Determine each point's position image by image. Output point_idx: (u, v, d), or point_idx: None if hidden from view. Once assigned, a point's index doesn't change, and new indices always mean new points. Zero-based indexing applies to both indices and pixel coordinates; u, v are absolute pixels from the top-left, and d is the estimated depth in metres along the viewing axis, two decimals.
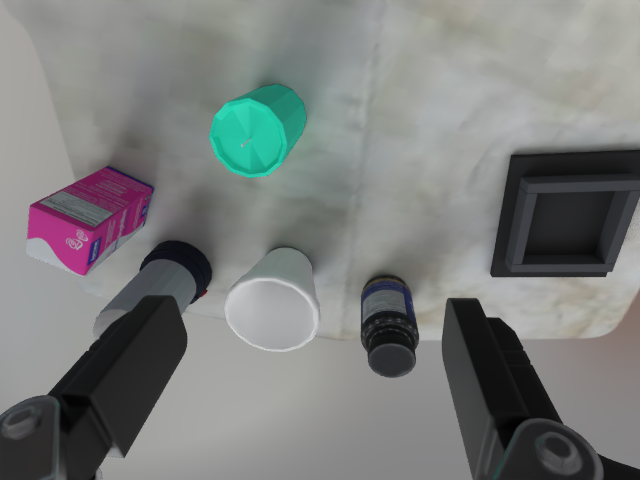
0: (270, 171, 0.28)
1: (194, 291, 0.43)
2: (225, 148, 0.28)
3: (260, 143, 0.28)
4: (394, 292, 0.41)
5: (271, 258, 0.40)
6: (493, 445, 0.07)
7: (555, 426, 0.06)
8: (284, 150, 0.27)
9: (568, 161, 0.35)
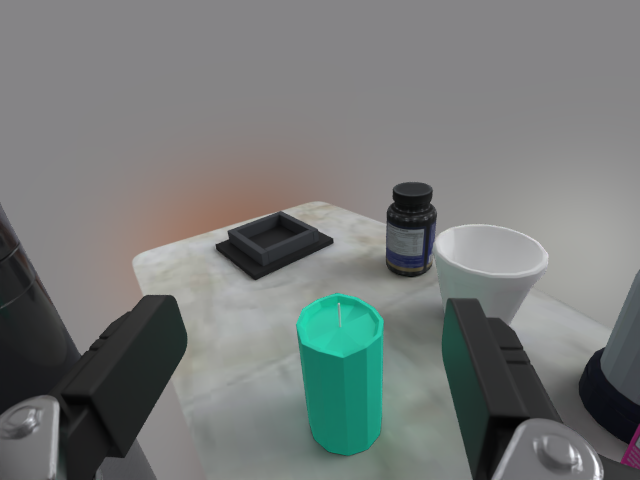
0: (351, 297, 0.27)
1: None
2: (367, 337, 0.24)
3: (336, 318, 0.26)
4: (390, 247, 0.46)
5: None
6: (493, 445, 0.07)
7: (555, 426, 0.06)
8: (323, 298, 0.27)
9: (240, 259, 0.52)
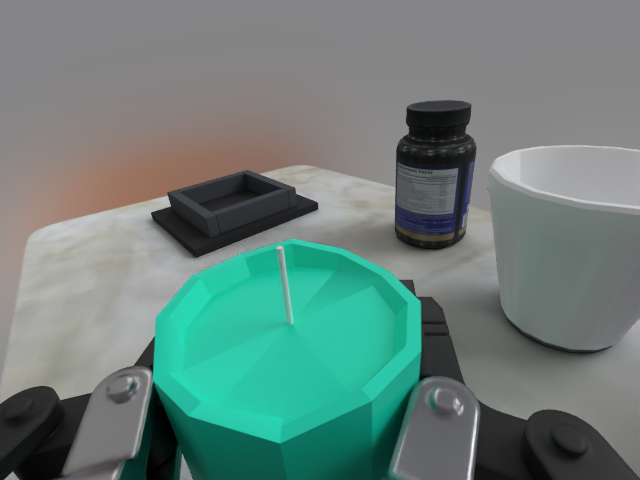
0: (328, 247, 0.10)
1: None
2: (373, 357, 0.07)
3: (283, 300, 0.09)
4: (402, 203, 0.30)
5: (561, 301, 0.18)
6: None
7: (450, 382, 0.07)
8: (257, 251, 0.10)
9: (179, 229, 0.35)
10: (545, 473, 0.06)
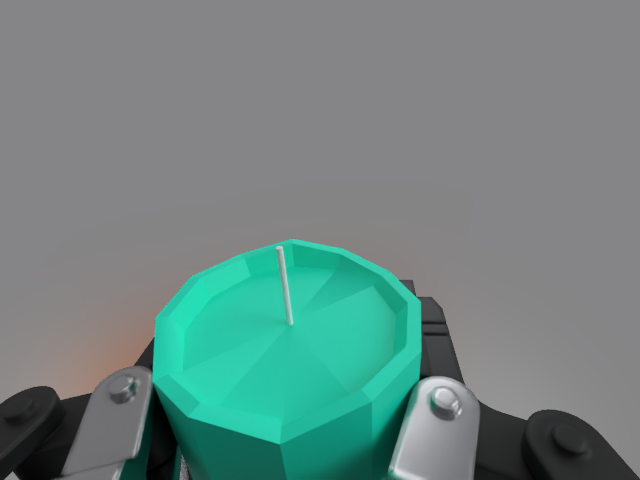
0: (328, 247, 0.10)
1: None
2: (373, 358, 0.07)
3: (283, 300, 0.09)
4: None
5: None
6: None
7: (450, 382, 0.07)
8: (257, 251, 0.10)
9: None
10: (545, 473, 0.06)
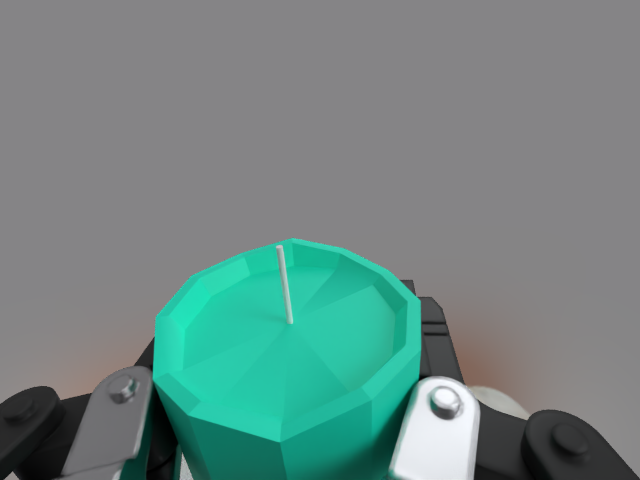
0: (328, 247, 0.10)
1: None
2: (373, 356, 0.07)
3: (283, 300, 0.09)
4: None
5: None
6: None
7: (450, 382, 0.07)
8: (257, 250, 0.10)
9: None
10: (545, 473, 0.06)
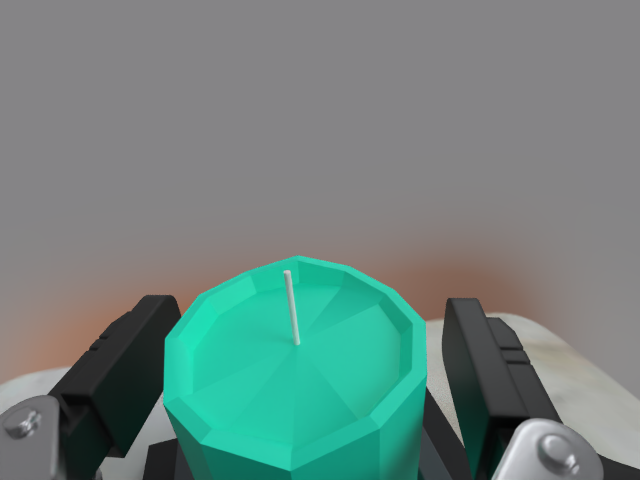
0: (333, 264, 0.11)
1: None
2: (379, 380, 0.07)
3: (289, 319, 0.09)
4: None
5: None
6: (493, 445, 0.07)
7: (555, 426, 0.06)
8: (263, 268, 0.11)
9: None
10: None
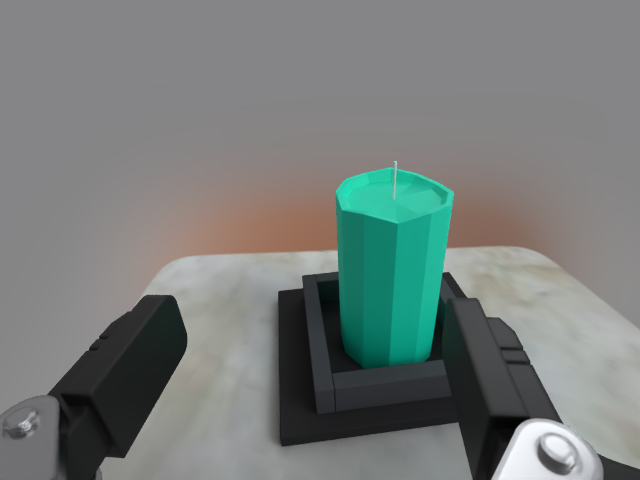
0: (409, 172, 0.21)
1: None
2: (431, 209, 0.18)
3: (388, 192, 0.20)
4: None
5: None
6: (493, 445, 0.07)
7: (555, 426, 0.06)
8: (373, 172, 0.21)
9: (289, 358, 0.23)
10: None
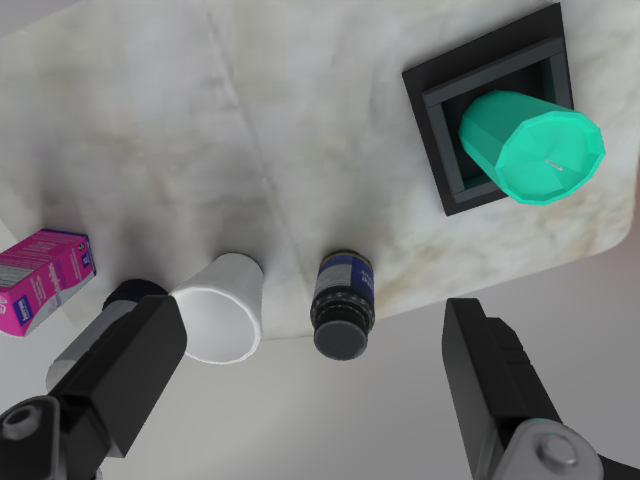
0: (593, 170, 0.22)
1: None
2: (522, 188, 0.23)
3: (560, 153, 0.22)
4: (340, 266, 0.36)
5: (205, 269, 0.38)
6: (493, 444, 0.07)
7: (555, 426, 0.06)
8: (599, 137, 0.21)
9: (466, 53, 0.29)
10: None
